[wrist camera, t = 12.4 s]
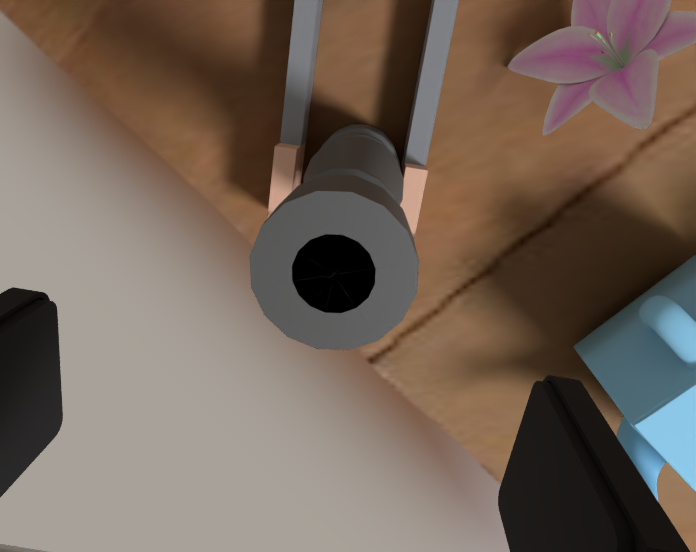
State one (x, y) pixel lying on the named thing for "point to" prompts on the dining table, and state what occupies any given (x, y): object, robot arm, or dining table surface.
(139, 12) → the dining table surface
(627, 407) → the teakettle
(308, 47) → the guide channel
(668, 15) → the lily
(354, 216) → the candle holder
